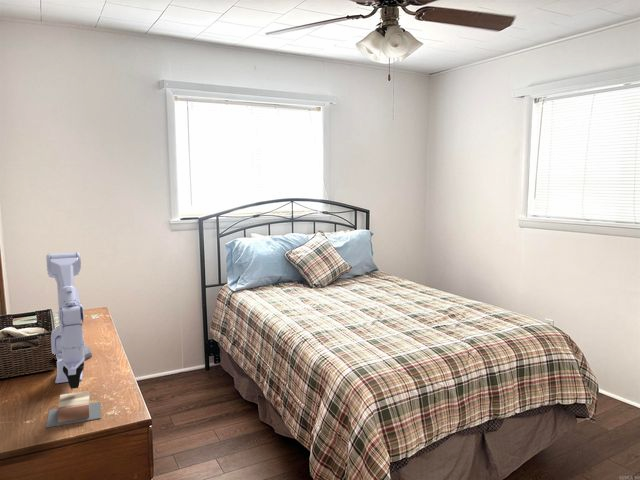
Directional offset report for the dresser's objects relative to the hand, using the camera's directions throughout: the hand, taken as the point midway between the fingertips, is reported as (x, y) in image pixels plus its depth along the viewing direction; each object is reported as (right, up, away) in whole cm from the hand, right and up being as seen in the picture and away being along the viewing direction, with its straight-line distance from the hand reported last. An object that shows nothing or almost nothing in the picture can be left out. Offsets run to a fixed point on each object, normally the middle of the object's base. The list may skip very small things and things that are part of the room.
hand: (74, 387), depth 145 cm
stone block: (-19, 0, +36) cm, 40 cm away
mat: (+2, -7, -4) cm, 8 cm away
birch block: (0, -4, +1) cm, 4 cm away
